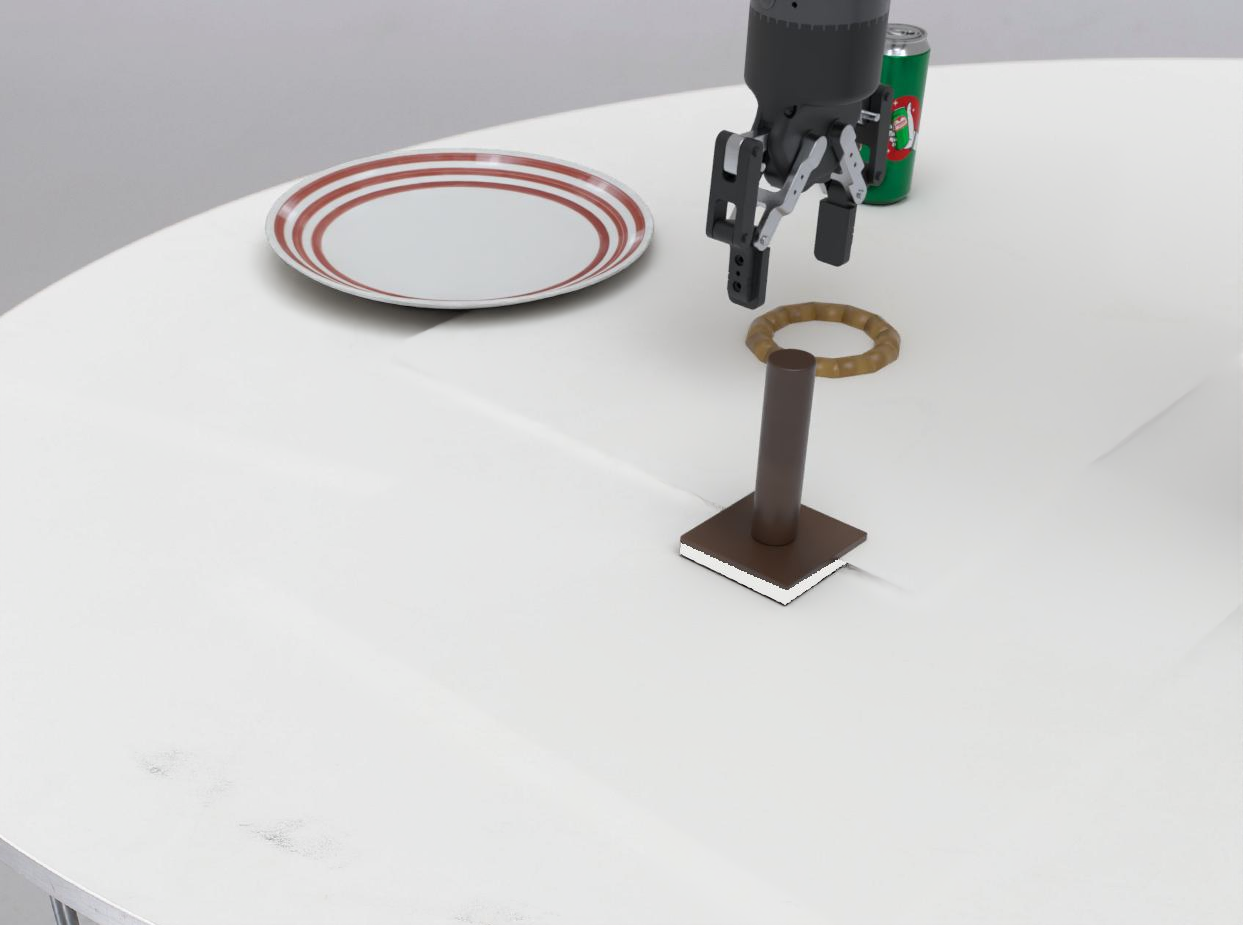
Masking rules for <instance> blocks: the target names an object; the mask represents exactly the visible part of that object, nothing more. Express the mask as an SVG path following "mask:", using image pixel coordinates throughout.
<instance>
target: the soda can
mask: <svg viewBox="0 0 1243 925" xmlns="http://www.w3.org/2000/svg"><path fill="white" fill-rule="evenodd" d="M928 36H929V34H928V31H927V30H926V29H924V28H923V27H921V26H918V25H914V24H908V23H900V22H899V23H898V22H888V25H887V32H886V39H885V47H884V54H883V62H882V69H881V77H880V83H881V84H885V85H888V86H892V87H893V90H894V94H893V103H892V113H891V122H890V131H889V141H888V150H887V159H886V169H885V176H884V179H883V181H882V183H881V184H880V185H879V186H873V185H870V186H869V187H868V188H867V192H866V196H865V198H864V200H863V202H862V204H863V203H864V204H866V205H867V204H869V205H878V204H879V205H880V204H882V205H890V204H894V203H895V204H896V203H899V202H900V201H902V200H903V199H904V198H905V197H907V195H909V193H910V192H911V189H912V183H913V175H914V169H915V168H914V167H915V161H916V154H917V147H918V141H919V133H920V126H921V119H922V113H923V105H924V99H925V92H926V85H927V77H928V70H929V64H930V57H931V48H932V47H931V46H930V44H929V42H928V39H927V38H928ZM859 153H860V156H861V158H862V160H863V161H866V162H869V155H870V149H869V147H868V146H867V145H863V144H860V151H859Z"/></svg>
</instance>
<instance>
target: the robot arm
mask: <svg viewBox="0 0 1243 925" xmlns="http://www.w3.org/2000/svg"><path fill="white" fill-rule="evenodd" d="M891 1H892V0H749V6H748V7H749V8H748V20H747V33H746V44H745V56H744V57H745V58H744V68H743V80H744V82H745V85H746V87H747V88H748V89H749V90H750V91H751V93H752V94H753V95H754V98H755V99H756V101H757V109H756V114H755V116H754V120H753V123H752V126H751V129H750V130H749V131H745V132H743V133H736V132H733V131H730V130H726V129H722V130H721V131H720V132H718V134H717V136H716V138H715V140H714V141H715V142H714V147H713V148H714V149H713V158H712V166H711V167H712V168H711V177H710V185H709V195H708V204H707V212H706V224H705V235H706V237H707V238H710V239H712V240H715V241H718V242H721V243H723V244H727V245H729V260H728V269H727V270H728V271H727V272H728V274H727V283H726V291H727V296H728V300H730V302H731V303H732V304H735V305H738V306H740V307H742V308H745V309H748V310H752V311H754V310H756V309H759V308H760V307H762V306H764V305H765V303H766V298H767V297H766V296H767V295H766V294H767V285H768V275H769V264H770V254H771V247H770V244H771V241H772V238H774V237H773V236H774V234H775V233H776V230H777V228H778V226H779V224H780V222H781V219H782V218H783V217H784V216H788V215H790V214H792V212H793V211H794V209H795V207H796V205H797V203H798V202H799V199H800V196H801V195H802V194H803V193H805V192H807V191H808V190H809V189H811V187H813V186H814V185H816V184H818V186H819V187H820V190H821V192H822V194H823V195H826V196H827V197H824V198H821V199H820V200H819V202H818V214H817V221H816V230H815V239H814V247H813V256H814V258H815V259H816V260H817V261H818V262H821V263H824V264H827V265H831V266H833V267H836V268H839V267H842V266H843V265H845V264H848V262H849V261H850V259H851V251H852V245H853V240H854V233H855V225H856V217H857V210H858V205H859V206H860V205H861V204H863V200H864V198H865V196H866V192H867V188H868V187H869V186H870V185H873V186H879V185H880V184H881V183H882V181H883V179H884V176H885V169H886V159H887V150H888V141H889V131H890V122H891V113H892V103H893V94H894V90H893V87H892V86H888V85H885V84H881V83H880V77H881V69H882V62H883V54H884V47H885V39H886V32H887V25H888V23H889V17H890V10H891ZM860 144H863V145H867V146H868V147H869V149H870V155H869V162H866V161H863V160H862V158H861V156H860V153H859V151H860ZM762 177H763V178H764V179H765V181H766V182H767V184H768V185H770V186H769V187H772V188H775V189H779V190H777V191H772V190H769V189H765V188H761V187H760V181H761V179H762ZM729 203H731V204H733V206H734V207H733V210H732V212H731V214H730V216H729V218H727V213H728V206H729V205H728V204H729ZM757 207H758V208H759V207H760V208H763V209H764V211H763V213H762V216H761V218H760V220H759V222H758V224H757V225H755V220H756V212H757Z"/></svg>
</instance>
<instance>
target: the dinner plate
mask: <svg viewBox="0 0 1243 925" xmlns="http://www.w3.org/2000/svg"><path fill="white" fill-rule="evenodd" d="M264 232H265V236H266V239H267V241H268V244H269V246H270V247H271V249H272V250H273V251H274V252H275V254H276V255H277V256H278V257H279V258H280V259H281V260H283V261H284V262H285V263H286V264H287V265H289V266H290V267H292V268H294V269H295V270H297V271H298V272H300V273H302V275H304V276H306V277H308V278H310V279H311V280H314V281H315V282H319V283H320V284H322V285H325V286H327V287H329V288H333V289H335V290H338V291H341V292H343V293H346V294H349V295H353V296H357V297H360V298H364V299H366V300H367V299H368V300H372V301H376V302H381V303H387V304H393V305H399V306H404V307H405V306H408V307H416V308H425V309H436V310H476V309H483V308H495V307H504V306H511V305H517V304H524V303H529V302H533V301H538V300H543V299H546V298H551V297H555V296H559V295H562V294H567V293H571V292H576V291H578V290H581V289H584V288H586V287H590V286H593V285H595V284H597V283H599V282H602V281H605V280H606V279H609V278H610V277H613V276H614V275H616V274H619V273H620V272H621V271H623V270H624V269H627V268H628V267H629V266H630V265H632V264H633V263H635V261H637V260H638V259H639V258H640V257H641V256H642V255H644V253H645V251H646V250H647V249H648V247H649V246H650V244H651V242H652V239H653V237H654V232H655V220H654V216H653V214H652V212H651V210H650V208H649V205H647V203H646V202H645V201H644V199H643V198H642V197H641V196H640V195H639V194H638V193H637V192H636V191H635V190H633V189H632V188H631V187H630V186H628V185H627V184H625V183H623V182H622V181H620V180H618V179H617V178H614V177H613V176H611V175H609V174H607V173H604V172H602V171H599V170H597V169H594V168H591V167H589V166H586V165H583V164H580V163H577V162H573V161H569V160H566V159H562V158H557V157H553V156H550V155H549V156H548V155H543V154H537V153H533V152H532V153H531V152H524V151H515V150H508V149H507V150H505V149H497V148H496V149H495V148H477V147H476V148H474V147H441V148H440V147H439V148H423V149H422V148H421V149H408V150H399V151H393V152H387V153H386V152H385V153H380V154H375V155H369V156H366V157H362V158H358V159H357V158H356V159H353V160H350V161H346V162H342V163H340V164H337V165H334V166H331V167H329V168H326V169H324V170H321V171H319V172H316V173H313V174H312V175H310V176H308V177H306V178H304V179H302V180H301V181H299V182H297V183H295V185H293V186H292V187H289V189H287V191H285V192H284V193H283V194H281V195H280V196H279V197H278V198H277V199H276V201H275V202H274V203H273V204H272V206H271V207H270V209H269V211H268V213H267V215H266V219H265V223H264Z"/></svg>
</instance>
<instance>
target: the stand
mask: <svg viewBox="0 0 1243 925" xmlns="http://www.w3.org/2000/svg"><path fill="white" fill-rule="evenodd" d="M815 357H816V356H815V355H813V353H811V352H808V351H807V350H803V349H798V348H784V349H781V350H777V351H774V352H772V353H771V354H770V355H769V356H768V358H767V364H766V367H765V378H764V387H763V399H762V409H761V419H760V420H761V422H760V432H759V442H758V454H757V464H756V474H755V485H754V490H753V491H752V492H750V493H749V494H747V495H744V497H742V498H741V499H739V500H737V501H736V502H733V503H731V505H729V506H727V507H726V508H724V509H722V510H721V511H719V512H718V513H716V514H714V515H713V516H711V517H709V518H708V519H706V520H704V521H703V522H701V523H699V524H698V525H696V526H695V527H693V528H691V529H689V530H688V531H686V532H685V533H683V534H682V535H680V537H679V543H680V542H681V543H682V544H686V545H687V546H690V547H692V548H693V549H696V550H698V551H701V552H704V554H706V555H710V557H713V558H716V559H718V560H719V561H722V562H723V563H728V565H730V566H734V567H735V568H737V569H739V570H741V571H744V572H747V574H750V575H753V576H754V577H757V578H760V579H762V580H765V581H766V582H769V583H772V584H773V585H776V586H779V588H782V589H785V590H789V589H790V588H792V587H794V586H795V585H796V584H799V582H801V581H803V580H804V579H807V578H808V577H810V576H812V574H815V573H817V571H820V570H821V569H822V568H824V567H826V566H828V565H829V564H831V563H833V562H835V560H838V559H841V558H843V557H844V556H845V555H847V554H848V553H850V552H851V551H853V550H854V549H856V548H858V547H859V546H860V545H862V544H863V543H864V542H866V541H867V540H868V539H867V538H868V532H867V531H865V530H863V529H860V528H857V527H855V526H854V525H850V524H849V523H846V522H843V521H842V520H840V519H837V518H834V517H832V516H830V515H828V514H825V513H823V512H821V511H819V510H817V509H815V508H812V507H811V506H808V505H805V504H803V503H802V495H803V486H804V478H805V470H806V461H807V452H808V443H809V434H810V426H811V417H812V416H811V415H812V409H813V399H814V392H815V391H814V389H815V381H816V377H815V374H816V365H817V360H816V358H815Z"/></svg>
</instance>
